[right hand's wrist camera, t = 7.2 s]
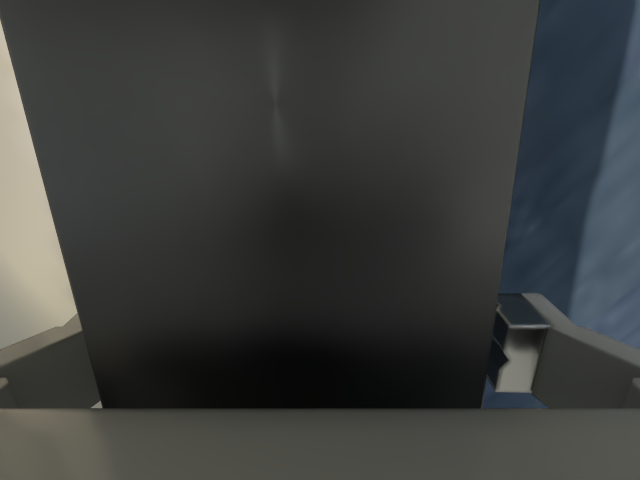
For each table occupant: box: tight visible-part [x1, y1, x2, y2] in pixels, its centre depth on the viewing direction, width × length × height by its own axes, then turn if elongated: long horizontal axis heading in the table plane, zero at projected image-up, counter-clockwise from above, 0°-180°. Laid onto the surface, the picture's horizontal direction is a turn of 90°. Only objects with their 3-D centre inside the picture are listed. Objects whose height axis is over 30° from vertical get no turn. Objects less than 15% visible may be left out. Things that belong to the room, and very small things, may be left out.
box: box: [0, 0, 540, 408], centre depth 10 cm, size 20×6×11 cm, turn 1°
